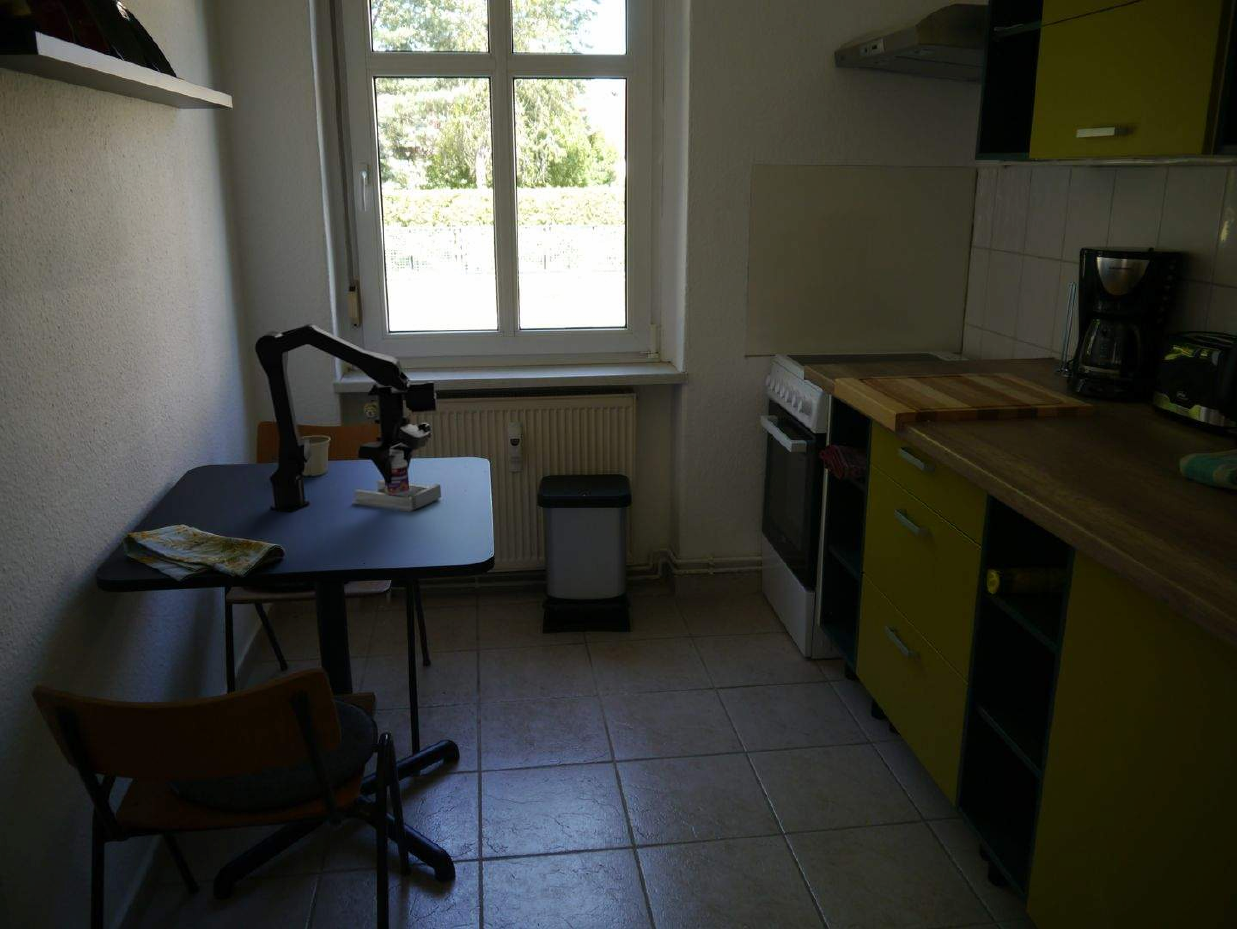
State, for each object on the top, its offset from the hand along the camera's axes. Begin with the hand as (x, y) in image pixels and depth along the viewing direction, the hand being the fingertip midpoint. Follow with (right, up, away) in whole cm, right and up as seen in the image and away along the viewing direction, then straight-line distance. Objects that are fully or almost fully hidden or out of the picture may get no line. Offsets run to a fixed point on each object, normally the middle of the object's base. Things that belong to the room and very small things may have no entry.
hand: (396, 479), depth 236 cm
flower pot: (-26, +1, +25) cm, 37 cm away
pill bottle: (0, -3, +1) cm, 3 cm away
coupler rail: (0, -5, +2) cm, 5 cm away
